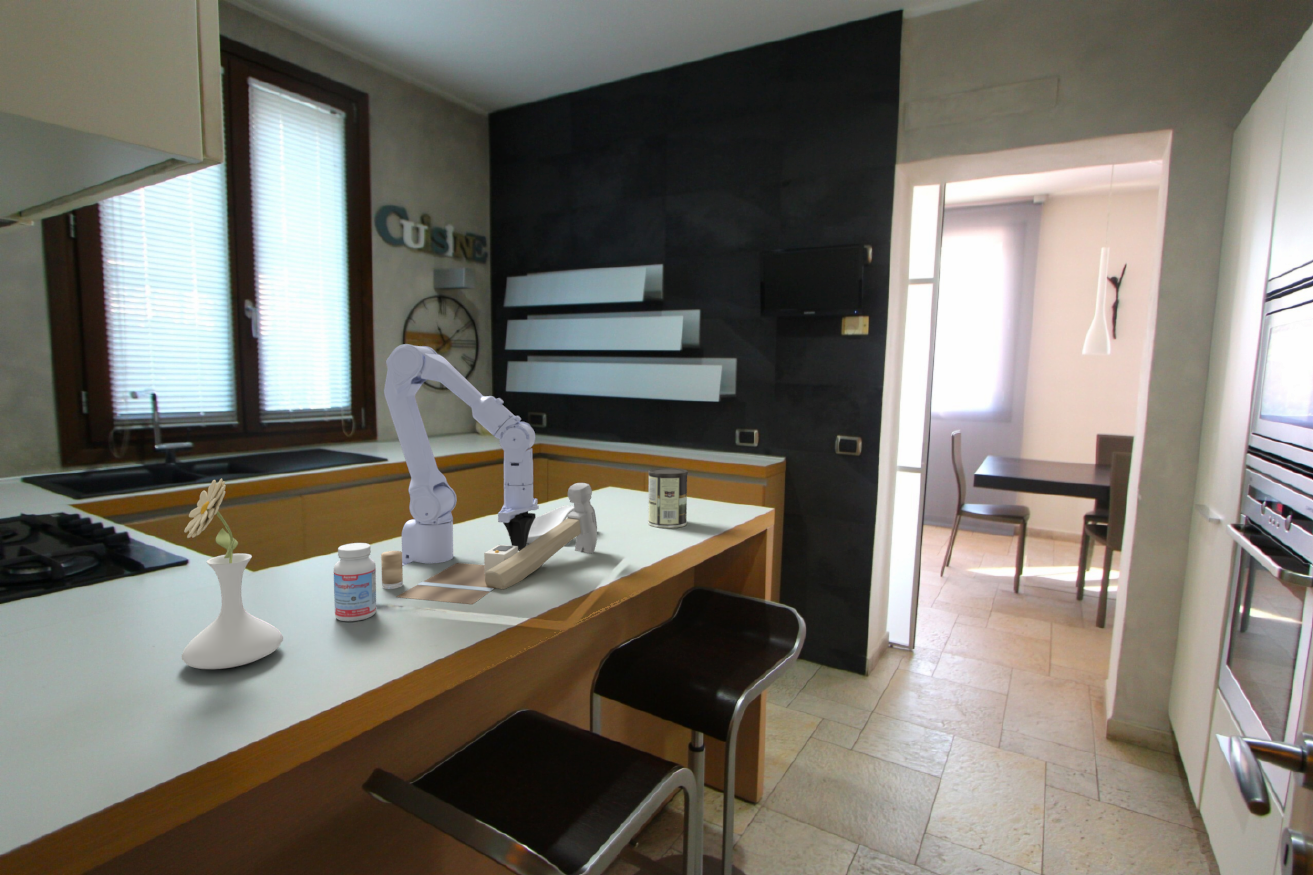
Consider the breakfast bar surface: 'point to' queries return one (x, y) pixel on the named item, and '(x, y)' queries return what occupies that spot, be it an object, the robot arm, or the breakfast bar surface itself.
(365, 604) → the pill bottle
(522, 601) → the breakfast bar surface
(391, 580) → the tan rounded cylinder
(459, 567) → the board
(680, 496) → the coffee can
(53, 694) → the breakfast bar surface
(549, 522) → the spoon rest
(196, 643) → the flower in vase
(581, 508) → the hammer
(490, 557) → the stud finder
